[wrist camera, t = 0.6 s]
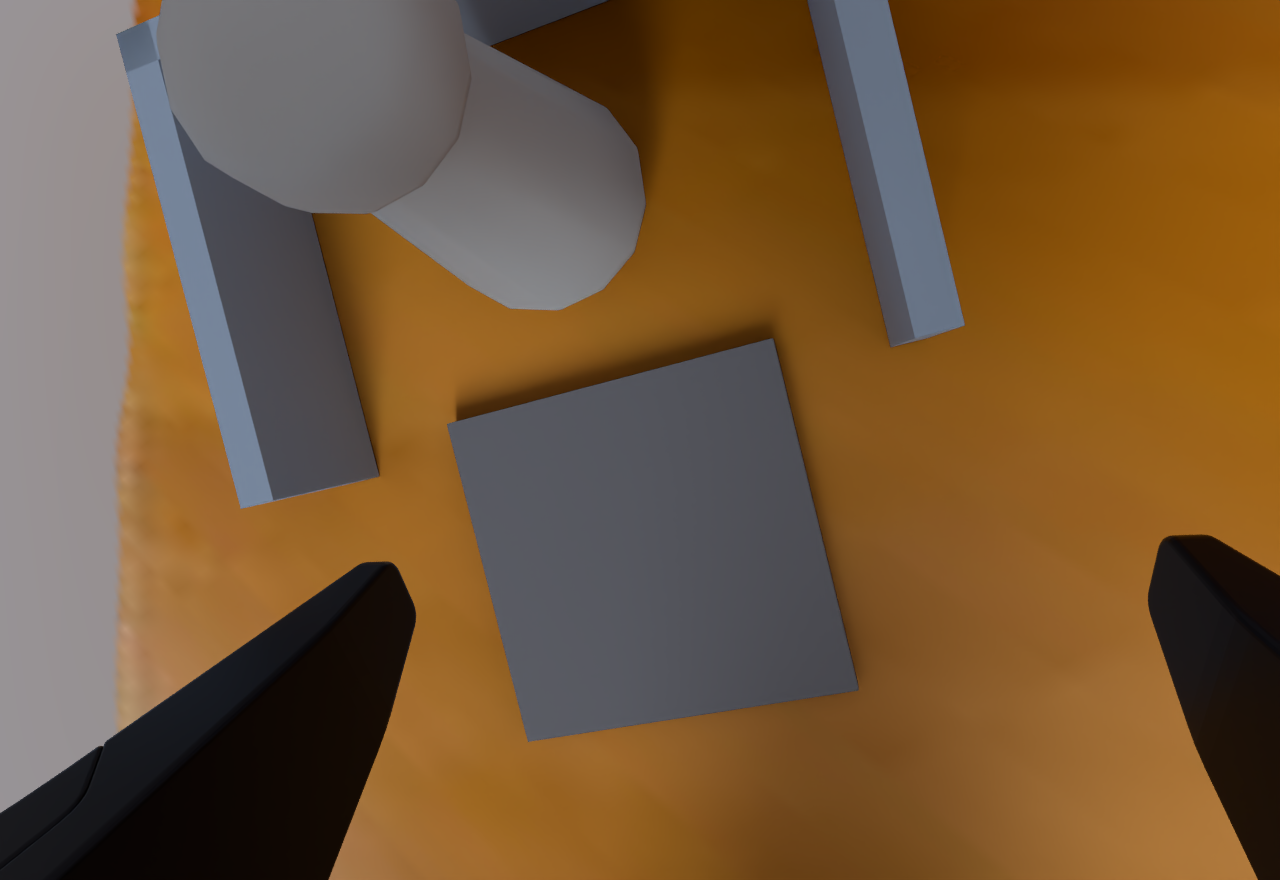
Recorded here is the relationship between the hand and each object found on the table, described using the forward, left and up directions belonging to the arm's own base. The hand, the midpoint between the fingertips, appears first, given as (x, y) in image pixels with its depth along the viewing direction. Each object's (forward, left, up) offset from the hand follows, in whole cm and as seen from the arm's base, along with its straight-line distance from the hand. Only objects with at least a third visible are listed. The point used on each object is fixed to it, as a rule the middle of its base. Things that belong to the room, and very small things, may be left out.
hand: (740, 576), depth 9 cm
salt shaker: (+5, +8, -13) cm, 16 cm away
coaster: (-3, +3, -13) cm, 14 cm away
